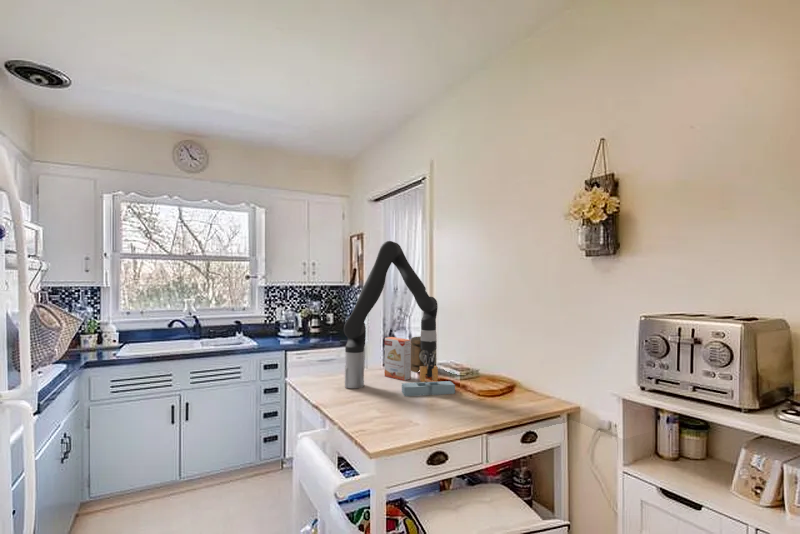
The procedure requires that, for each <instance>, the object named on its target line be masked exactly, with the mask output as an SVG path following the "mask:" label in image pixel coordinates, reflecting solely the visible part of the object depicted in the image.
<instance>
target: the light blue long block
mask: <svg viewBox="0 0 800 534" xmlns="http://www.w3.org/2000/svg"><path fill="white" fill-rule="evenodd" d="M401 393H402V395H403V396H404V397H417V396H435V395H436V396H437V395H454V394H456V384H454V383H453V382H452V381H451V380H448V381H447V380H445V381H441V380H440V381H425V382H421V381H419V382H406V383H405V382H404V383H401Z"/></svg>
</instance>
